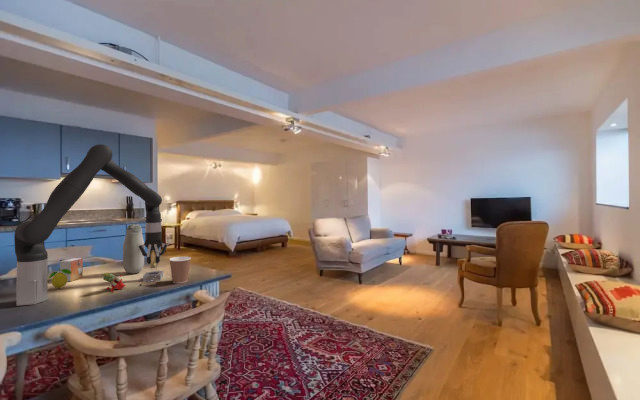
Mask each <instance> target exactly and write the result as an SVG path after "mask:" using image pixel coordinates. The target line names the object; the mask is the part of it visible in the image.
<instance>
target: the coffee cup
mask: <svg viewBox="0 0 640 400" xmlns="http://www.w3.org/2000/svg"><path fill="white" fill-rule="evenodd" d="M191 259H192V257H191V256H174V257H170V258H169V259H168V260H169V265H170V273H171V281H172V283H173V284H182V283H183V284H184V283H186V282H188V280H189V272H190V267H191V266H190V265H191Z"/></svg>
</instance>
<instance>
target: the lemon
mask: <svg viewBox="0 0 640 400" xmlns="http://www.w3.org/2000/svg"><path fill="white" fill-rule="evenodd" d="M60 270H61V269H60V267H59V268H58V271H53V272H52V273H50V275H49V277H48V279H51V285H52V286H53V287H54V288H57V289H58V290H60V289H61V288H63V287H65V286H66V285H67V284H68V281H67V276H66V275H65V274H64V273H66V274H72V272H71V271H70V270H68V269H62V272H63V273H61V272H60Z"/></svg>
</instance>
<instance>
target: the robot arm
mask: <svg viewBox="0 0 640 400" xmlns="http://www.w3.org/2000/svg"><path fill="white" fill-rule="evenodd" d="M100 171H103V172H105V173H106V174H108V175H109V176H111V177H112V178H114V179H115V180H116V181H117V182H119V183H120V184H121V185H123V186H124V187H125V188H127V189H128V190H129V191H130V192H131V193H133V194H134V195H136V196H137V197H139V198H141V199H142V200H143V201H144V205H145V207H144V208H145V227H144V229H145V231H144V233H145V234H144V236H145V237H144V238H145V239H144V240H145V241H144V244H143V245H140V246H139V248H140V250H141V252H142V255H143V256H144V257H146V262H147V264H148V265H150V251H151V250H155V251H156V254H157V257H156V264H157V265H158V264H159V263H160V261H161V260H160V259H161V256H163V255H164V254H165V252H166V250H167V247H168V244H167V243H163V240H162V216H161V215H162V214H161V212H160V206H161V204H162V202H163V199H162V196H161V195H160V194H159V193H158V192H156V191H154V190H153V189H152V188H150V187H149V186H148V185H147V184H146V183H144V182H143V181H142V180H141V179H140V178H138V177H137V176H135V174H133V173H132V172H129V171H127V170H125V169H123V168H122V167H121V166H119V165H118V164H117V163H115V161H114V160H113V151H112V149H111V147H109V146H108V145H105V144H103V143H102V144H99V143H98V144H95V145H93V146H91V147H90V149H89V150H88V151H87V153H86V155H85V156H84V158H83V159H82V161H81V162H80V163H79V165H77V166H76V167H75V168H74V169H72V171H71V172H69V173H68V174H67V175H65V177H64V178H63V179H62V180H60V181H59V183H58V184H57V185H56V186H55V187H54V189H53V190H52V192H50V196H48V199H47V201H46V203H45V205H44V207H43V208H42V210H41V211H40V212H39V213H38V214H37V215H36V216H35V217H34V218H33V219H31V220H25V221H23V222H21V223H19V224H18V225H17V226H16V228H15V230H14V240H13V241H14V254H15V257H16V283H15V284H16V285H15V286H16V287H15V288H16V289H15V290H16V291H15V297H16V298H15V300H16V301H15V302H16V303H15V304H16V305H15V306H16V307H18V306H30V305H37V304H39V303H43V302H46V301H47V300H48V291H49V289H48V286H49V285H48V282H49V281H48V279H49V277H48V274H49V273H48V271H49V270H48V268H49V267H48V266H49V265H48V261H49V259H48V258H49V257H48V251H47V249H46V247H45V246H46V245H45V241H47V240H49V237H50V236H51V235H52V233H54V231H55V229H56V227H57V226H58V224H59V223H60V221H61V220H62V218H63V217H64V216H65V215H66V214H67V213H68V212H69V211H70V209H71V208H72V207H73V206H74V205H75V203H76V202H77V201H78V200H79V199H81V196H82V195H83V194H84V193H85V191H87V189H88V188H89V186H90V184H91V183H92V181H93V179H94V178H95V177H96V175H97V174H98V173H99V172H100ZM144 246H145V247H144ZM161 247H162V250H161V252H160V248H161ZM144 248H146V249H147V252H146V250H144Z"/></svg>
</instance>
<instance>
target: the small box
mask: <svg viewBox="0 0 640 400" xmlns="http://www.w3.org/2000/svg"><path fill="white" fill-rule="evenodd" d="M83 263H84V259H83V257H82V258H81V257H79V258H78V257H72V258H70V259H69V258H68V259H65V260H60V261H59V268H60V269H61V270H60V272H61V273H63V272H62V269H68V270H70V271H71V272H72V274H66V273H64V274H65V275H66V276H67V282H72V281H76V280H79V279H80V280H81V279H83V276H84V275H83V273H84V272H83V268H84V265H83Z"/></svg>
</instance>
